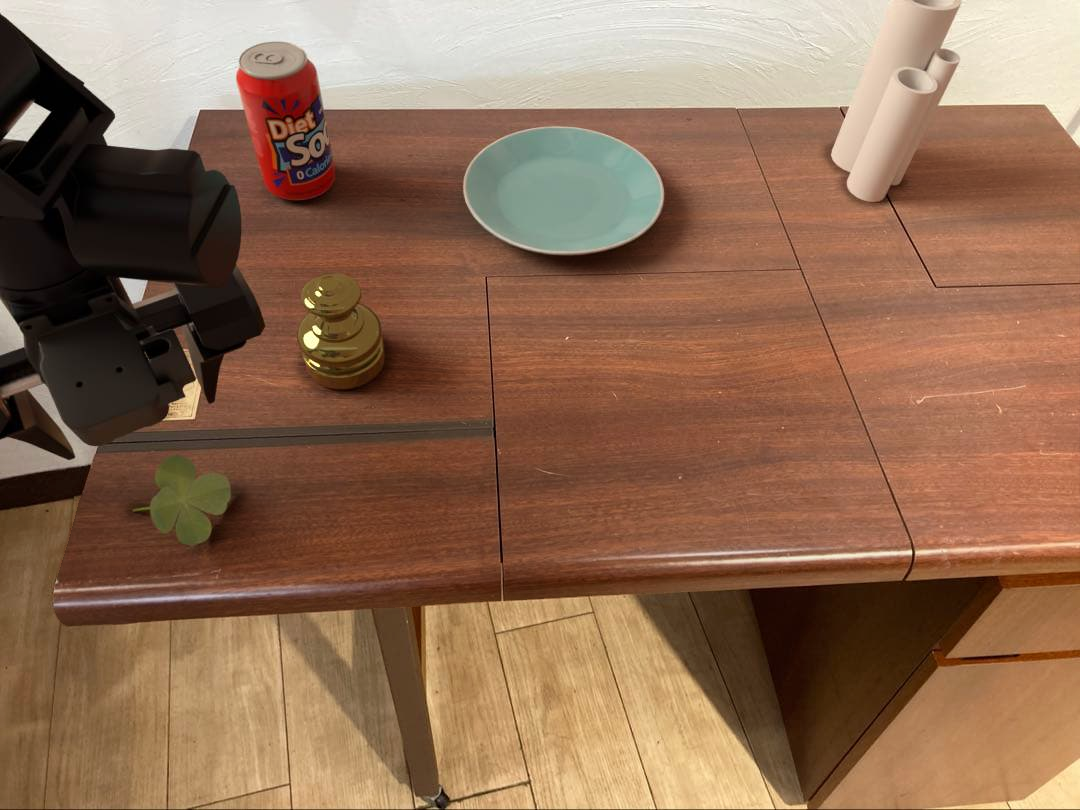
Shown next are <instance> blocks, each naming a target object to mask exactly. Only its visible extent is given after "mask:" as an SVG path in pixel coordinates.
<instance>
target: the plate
mask: <svg viewBox="0 0 1080 810" xmlns="http://www.w3.org/2000/svg"><path fill="white" fill-rule="evenodd" d="M664 187H665V186H664V183H663V180H662V177H661V176H660V174H659V171H658V170H657V168H656V167H655V165H654V164H653V163H652V162H651V161H650V160H649V159H648V158H647V157H646V155H645V154H643V153H642V152H641V151H640V150H638V149H636V148H635V147H634V146H633V145H630V144H628V143H626V142H625V141H623V140H621V139H618V138H616V137H613V136H611V135H609V134H606V133H602V132H601V131H600V132H599V131H596V130H592V129H587V128H582V127H577V126H576V127H575V126H561V125H560V126H559V125H558V126H555V125H554V126H551V125H550V126H540V127H539V126H538V127H533V128H528V129H523V130H519V131H516V132H513V133H510V134H507V135H505V136H503V137H501V138H499V139H497V140H495V141H493V142H492V143H490V144H488V145H487V146H485V147H484V148H483V149H481V150H480V151H479V152H478V153H477V154H476V155H475V156H474V157H473V159H472V160H471V162H470V163H469V164H468V166H467V169H466V170H465V173H464V177H463V183H462V192H463V197H464V201H465V204H466V206H467V208H468V210H469V212H470V214H471V216H473V218H474V219H475V220H476V222H477V223H478V224H479V225H480V226H481V227H482V228H483V229H484V230H486V231H487V232H488V233H490V234H491V235H492V236H494V237H495V238H497V239H499V240H500V241H502V242H504V243H506V244H509V245H510V246H513V247H516V248H519V249H522V250H525V251H529V252H532V253H537V254H543V255H549V256H581V255H582V256H583V255H591V254H596V253H601V252H605V251H609V250H613V249H615V248H619V247H621V246H624V245H626V244H629V243H631V242H632V241H634V240H636V239H638V238H639V237H641V236H642V235H644V234H645V233H646V232H647V231H649V230H650V229H651V228H652V227H653V225H654V224H655V223H656V221H657V220H658V218H659V217H660V215H661V213H662V211H663V207H664V203H665V189H664Z"/></svg>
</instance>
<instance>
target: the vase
mask: <svg viewBox="0 0 1080 810" xmlns="http://www.w3.org/2000/svg"><path fill="white" fill-rule="evenodd" d="M962 1H963V0H890V2H889V5H888V7H887V10H886V12H885V15H884V18H883V20H882V23H881V26H880V28H879V31H878V33H877V35H876V38H875V40H874V42H873V45H872V48H871V50H870V53H869V56H868V59H867V61H866V64H865V66H864V68H863V70H862V74H861V76H860V78H859V81H858V83H857V85H856V89H855V90H854V93H853V96H852V99H851V101H850V104H849V106H848V109H847V112H846V115H845V117H844V119H843V122H842V124H841V126H840V130H839V131H838V134H837V136H836V138H835V142H834V145H833V147H832V150H831V154H830V156H831V159H832V161H833V163H834V164H835V165H836V166H837V167H838V168H840V169H841V170H844V171H846V172H847V173H849V175H848V178H847V180H846V187H847V190H848V191H849V192H850V194H852V195H853V196H854V197H855V198H857V199H859V200H861V201H865V202H867V203H876V202H877V203H878V202H880V201H882V200H884V198H885V197H886V196H887V194H888V191H889V189H890V187H891V186H897V185H899V184H900V183H901V182H902V180H903V178H904V176H905V174H906V171H907V170H908V167H909V166H910V165H911V164H910V163H911V161H912V160H913V158H914V156H915V153H916V151H917V149H918V147H919V146H920V143H921V141H922V139H923V137H924V136H925V133H926V131H927V129H928V127H929V125H930V123H931V121H932V119H933V116H934V114H935V113H936V110H937V109H938V107H939V105H940V102H941V100H942V98H943V96H944V94H945V92H946V90H947V88H948V86H949V84H950V82H951V80H952V78H953V77H954V76H953V75H954V74H955V72H956V70H957V68H958V66H959V64H960V62H961V57H960V55H959V54H958V53H956V52H955V51H953V50H951V49H948V48H942V45H943V44H944V42H945V39H946V37H947V35H948V33H949V30H950V28H951V26H952V24H953V22H954V20H955V18H956V15H957V13H958V11H959V9H960V7H961V5H962Z"/></svg>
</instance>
